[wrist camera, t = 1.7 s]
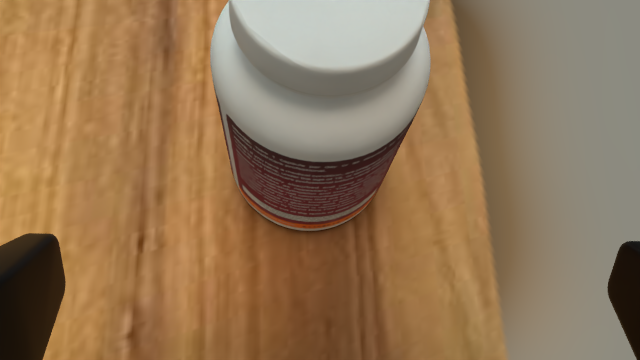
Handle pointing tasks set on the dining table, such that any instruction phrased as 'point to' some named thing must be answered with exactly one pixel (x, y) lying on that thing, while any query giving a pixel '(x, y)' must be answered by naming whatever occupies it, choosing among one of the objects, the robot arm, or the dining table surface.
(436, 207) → the dining table surface
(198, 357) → the dining table surface
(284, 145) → the pill bottle
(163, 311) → the dining table surface
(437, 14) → the dining table surface
